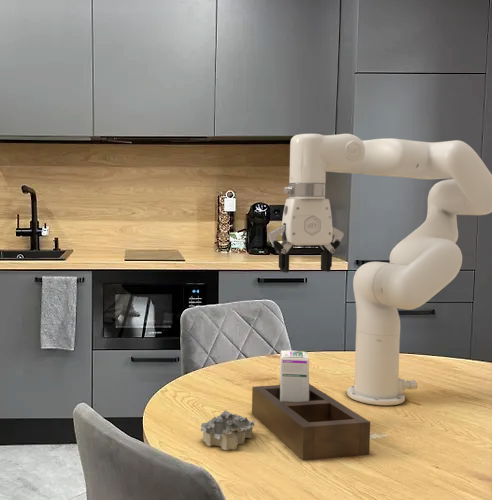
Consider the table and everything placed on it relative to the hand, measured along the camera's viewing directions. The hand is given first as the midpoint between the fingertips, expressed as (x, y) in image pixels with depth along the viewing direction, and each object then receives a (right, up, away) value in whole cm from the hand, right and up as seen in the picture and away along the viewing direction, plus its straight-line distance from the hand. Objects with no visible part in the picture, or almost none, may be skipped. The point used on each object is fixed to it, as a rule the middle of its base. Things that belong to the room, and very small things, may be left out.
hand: (305, 271), depth 134 cm
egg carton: (-19, -32, -16) cm, 40 cm away
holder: (-3, -31, -12) cm, 34 cm away
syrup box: (-4, -31, -7) cm, 32 cm away
